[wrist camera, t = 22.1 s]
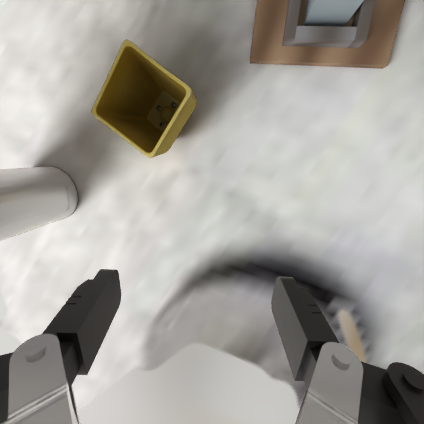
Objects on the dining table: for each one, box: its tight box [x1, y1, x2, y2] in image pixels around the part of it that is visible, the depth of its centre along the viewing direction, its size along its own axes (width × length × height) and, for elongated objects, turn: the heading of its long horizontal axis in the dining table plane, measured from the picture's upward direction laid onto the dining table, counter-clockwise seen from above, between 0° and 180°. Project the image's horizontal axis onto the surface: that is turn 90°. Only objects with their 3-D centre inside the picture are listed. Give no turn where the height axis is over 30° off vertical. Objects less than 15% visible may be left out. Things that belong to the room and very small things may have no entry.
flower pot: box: [91, 40, 197, 158], centre depth 29 cm, size 9×9×9 cm
